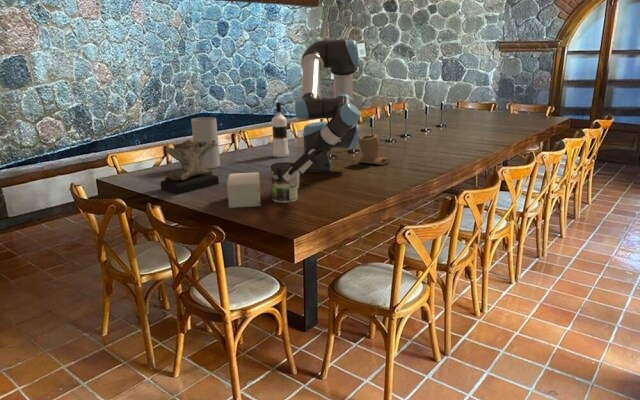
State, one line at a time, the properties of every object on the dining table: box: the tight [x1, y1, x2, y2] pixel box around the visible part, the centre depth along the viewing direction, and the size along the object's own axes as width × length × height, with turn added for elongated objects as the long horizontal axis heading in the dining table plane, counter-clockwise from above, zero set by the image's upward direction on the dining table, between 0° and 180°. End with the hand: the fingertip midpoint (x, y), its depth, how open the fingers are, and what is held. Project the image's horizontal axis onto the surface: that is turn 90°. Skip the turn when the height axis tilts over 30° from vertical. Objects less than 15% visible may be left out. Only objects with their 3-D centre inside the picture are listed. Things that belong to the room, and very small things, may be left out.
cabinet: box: [226, 171, 261, 209], centre depth 199 cm, size 12×17×10 cm
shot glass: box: [297, 170, 301, 189], centre depth 219 cm, size 7×7×7 cm
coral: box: [160, 139, 220, 196], centre depth 222 cm, size 25×20×22 cm
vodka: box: [271, 102, 290, 159], centre depth 281 cm, size 9×9×30 cm
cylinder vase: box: [190, 116, 221, 170], centre depth 260 cm, size 12×12×25 cm
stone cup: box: [358, 134, 391, 166], centre depth 258 cm, size 15×12×15 cm
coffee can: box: [270, 161, 299, 204], centre depth 201 cm, size 10×10×14 cm
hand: (292, 174), depth 197 cm, fingers open, 13 cm apart
